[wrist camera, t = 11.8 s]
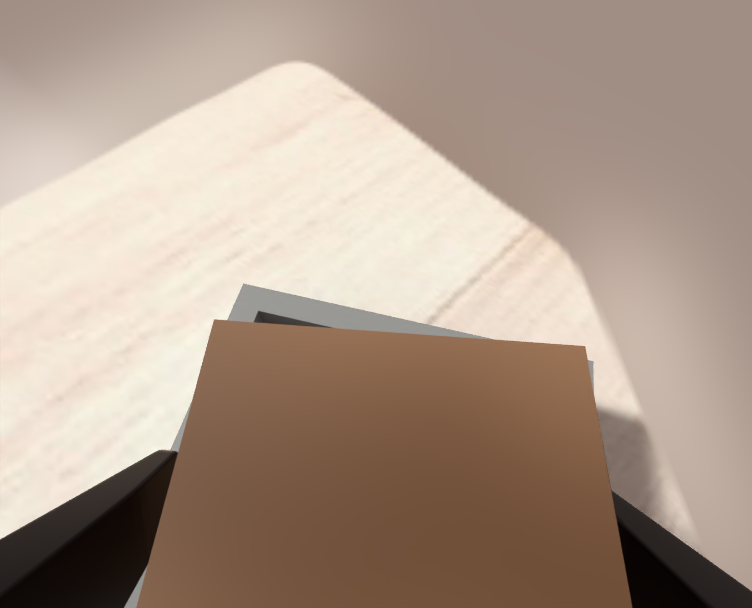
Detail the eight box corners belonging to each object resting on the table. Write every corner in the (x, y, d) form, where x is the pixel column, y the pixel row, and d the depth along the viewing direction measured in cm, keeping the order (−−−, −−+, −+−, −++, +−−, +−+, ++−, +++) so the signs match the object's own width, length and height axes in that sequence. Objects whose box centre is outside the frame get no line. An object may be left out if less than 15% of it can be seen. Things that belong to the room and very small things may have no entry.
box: (544, 391, 19) (593, 361, 15) (528, 805, 13) (603, 941, 9) (267, 327, 20) (243, 283, 16) (129, 683, 14) (35, 756, 10)
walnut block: (432, 595, 15) (693, 945, 3) (297, 586, 15) (57, 901, 3) (432, 453, 17) (585, 346, 5) (315, 444, 17) (213, 319, 5)
